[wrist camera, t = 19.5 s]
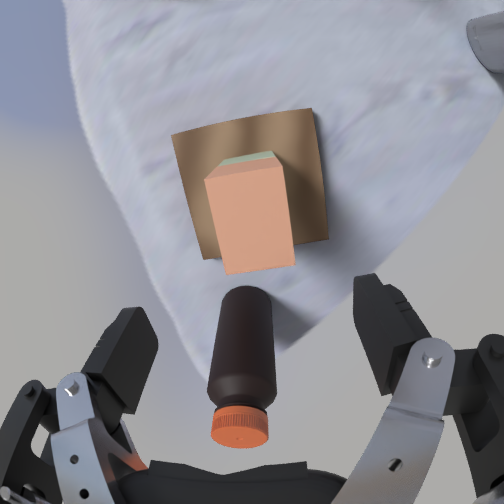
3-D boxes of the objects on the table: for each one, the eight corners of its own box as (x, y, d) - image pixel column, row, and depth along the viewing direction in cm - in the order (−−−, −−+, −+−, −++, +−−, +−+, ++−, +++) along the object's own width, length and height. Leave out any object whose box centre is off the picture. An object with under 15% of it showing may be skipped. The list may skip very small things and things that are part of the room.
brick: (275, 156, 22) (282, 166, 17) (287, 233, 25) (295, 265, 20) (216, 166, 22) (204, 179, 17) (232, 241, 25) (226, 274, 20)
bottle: (264, 279, 36) (269, 416, 18) (276, 318, 39) (286, 447, 20) (214, 290, 37) (186, 423, 19) (230, 328, 39) (217, 453, 21)
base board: (309, 109, 27) (311, 108, 25) (325, 234, 33) (328, 239, 32) (175, 134, 28) (171, 135, 27) (205, 254, 34) (203, 259, 33)
